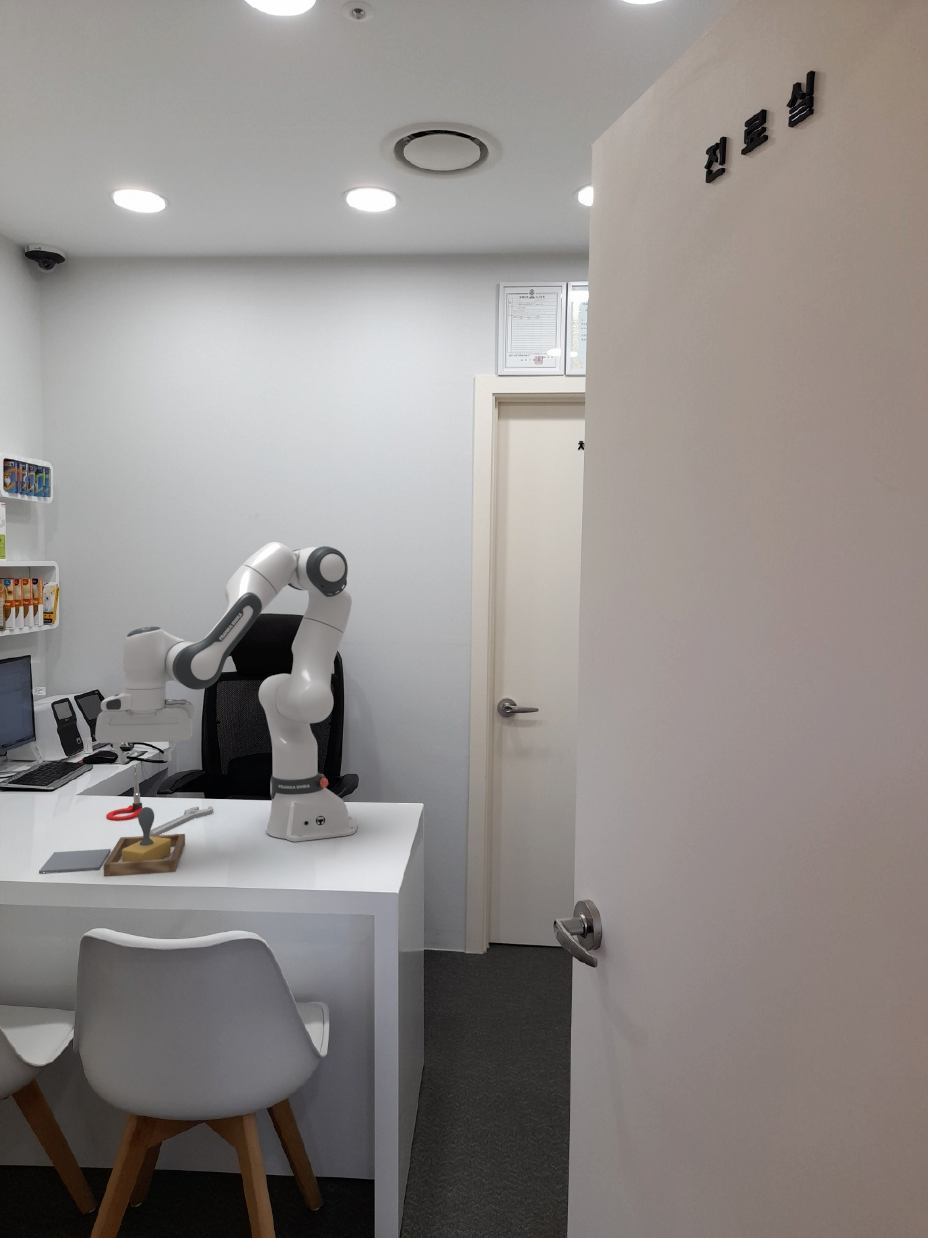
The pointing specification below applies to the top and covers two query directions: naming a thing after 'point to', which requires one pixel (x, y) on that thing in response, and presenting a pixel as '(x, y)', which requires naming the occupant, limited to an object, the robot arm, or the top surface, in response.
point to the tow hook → (135, 808)
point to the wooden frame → (143, 866)
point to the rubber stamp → (147, 841)
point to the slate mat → (75, 861)
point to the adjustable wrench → (181, 820)
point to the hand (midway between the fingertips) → (145, 761)
